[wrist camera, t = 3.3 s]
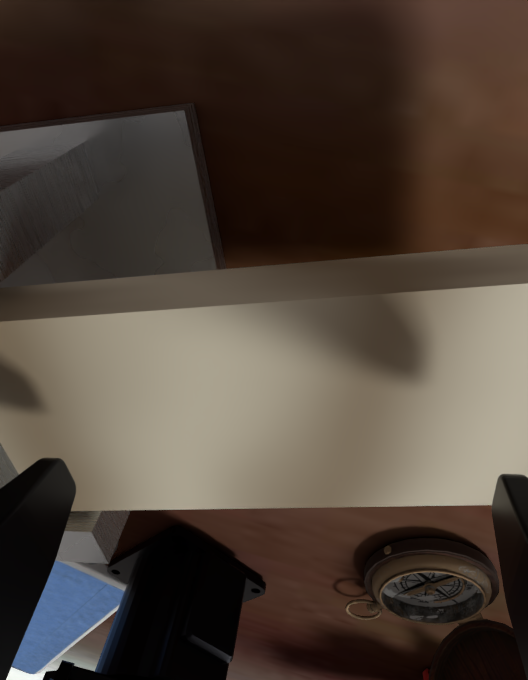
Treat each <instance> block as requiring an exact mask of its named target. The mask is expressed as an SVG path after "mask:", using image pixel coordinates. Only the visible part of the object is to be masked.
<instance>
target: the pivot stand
mask: <svg viewBox="0 0 528 680" xmlns="http://www.w3.org/2000/svg"><path fill="white" fill-rule="evenodd" d="M221 269H226V265H225V260H224V254H223V249H222V244H221V239H220V234H219V228H218V223H217V218H216V213H215V208H214V202H213V197H212V192H211V187H210V182H209V176H208V171H207V166H206V161H205V156H204V150H203V145H202V140H201V135H200V130H199V124H198V119H197V114H196V109H195V104H194V103H187V104H179V105H171V106H162V107H154V108H146V109H138V110H130V111H121V112H113V113H105V114H97V115H88V116H80V117H72V118H64V119H56V120H47V121H39V122H31V123H23V124H14V125H6V126H0V288H5V287H17V286H29V285H41V284H53V283H65V282H77V281H89V280H101V279H113V278H125V277H137V276H149V275H161V274H173V273H185V272H197V271H209V270H221ZM130 511H131V510H114V511H71V512H70V515H69V518H68V521H67V525H66V528H65V531H64V534H63V538H62V541H61V544H60V547H59V550H58V554H57V557H56V560H55V561H69V562H85V563H87V564H99V563H101V564H109V562H110V559H111V557H112V555H113V554H114V552H115V551H116V549H117V546H118V542H119V538H120V535H121V533H122V531H123V528H124V526H125V523H126V521H127V518H128V516H129V514H130Z"/></svg>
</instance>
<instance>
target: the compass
mask: <svg viewBox="0 0 528 680" xmlns="http://www.w3.org/2000/svg"><path fill="white" fill-rule="evenodd" d="M364 583H365V588H366V592H367V593H368V594H369V595H370V597H371V598H372V599H373V601H369V600H364V599H357V600H352V601H350V602H349V603H347V605H346V607H345V608H346V612H347V613H348V614H349V615H350V616H353V617H355V618H358V619H366V620H369V619H375V618H377V617H379V616H380V615H381V613H382V608H383V609H386V610H388V611H389V612H390V613H392V614H393V615H395V616H397V617H399V618H402V619H404V620H408V621H411V622H414V623H421V624H429V625H444V624H453V623H458V624H459V626H457V628H455V629H454V630H453V631H452V632H451V633H450V634H449V635H448V636H446V637H445V638H444V639H443V641H442V642H441V644H440V646H439V648H438V649H437V651H436V653H435V655H434V657H433V661H432V665H431V668H430V672H429V680H527V677H526V673H525V670H524V666H523V663H522V659H521V655H520V652H519V648H518V645H517V641H516V637H515V634H514V630H513V629H512V628H511V627H509V626H507V625H506V624H503V623H499V622H495V621H490V620H487V619H483V617H482V615H481V613H480V611H482V610H483V609H484V608H485V607H487V606H488V605H490V604H491V603H492V602H493V601H494V599H495V598H496V596H497V595H498V593H499V580H498V576H497V572H496V570H495V568H494V566H493V564H492V562H491V561H490V560H489V559H488V558H487V557H485V556H484V555H483V554H482V553H481V552H479V551H477V550H475V549H473V548H471V547H468V546H466V545H464V544H462V543H459V542H454V541H450V540H446V539H438V538H416V539H406V540H403V541H399V542H396V543H392V544H389V545H388V546H386V547H384V548H382V549H380V550H379V551H377V552H375V553H374V554H373V555H372V556H371V558H370V559H369V560H368V561H367V563H366V566H365V569H364ZM354 603H367V609H368V611H369V612H370V613H374V612H375V611H376V612H378V611H379V612H378V613H377V614H376V615H373V616H359V615H355V614H353V613H351V612H350V611H349V609H348V607H349V606H350V605H351V604H354ZM476 619H477V620H476Z"/></svg>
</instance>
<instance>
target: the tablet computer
mask: <svg viewBox="0 0 528 680" xmlns="http://www.w3.org/2000/svg"><path fill="white" fill-rule="evenodd" d="M107 568H108V566H107V565H105V564H101V563H99V564H87V563H85V562H69V561H55V562H54V565H53V568H52V571H51V573H50V576H49V578H48V581H47V583H46V585H45V588H44V590H43V592H42V595H41V597H40V600H39V602H38V604H37V607H36V609H35V612H34V614H33V616H32V619H31V621H30V623H29V626H28V628H27V631H26V633H25V635H24V638H23V640H22V642H21V645H20V647H19V650H18V652H17V654H16V657H15V659H14V661H13V664H12V666H11V667H13V668H16V669H18V670H21V671H23V672H26V673H29V674H37V673H40V672H41V671H43V670H44V669H45V668H46V667H47V666H49V665H50V664H51V663H52V662H54V661H55V660H56V659H57V658H58V657H60V656H61V655H62V654H63V653H64V652H66V651H67V650H68V649H69V648H71V647H72V646H73V645H74V644H75V643H77V642H78V641H79V640H80V639H82V638H83V637H84V636H85V635H87V634H88V633H89V632H91V631H92V630H93V629H94V628H96V627H97V626H98V625H99V624H101V623H102V622H103V621H105V620H106V619H107V618H108V617H109V616H111V615H112V614H113V613H114V612H116V611H117V610H118V608H119V605H120V602H121V599H122V597H123V594H124V591H125V589H126V586H127V584H126V583H124V582H122V581H121V580H119V579H117V578H116V577H114V576H112V575H111V574H109V573H108V572H107Z"/></svg>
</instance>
